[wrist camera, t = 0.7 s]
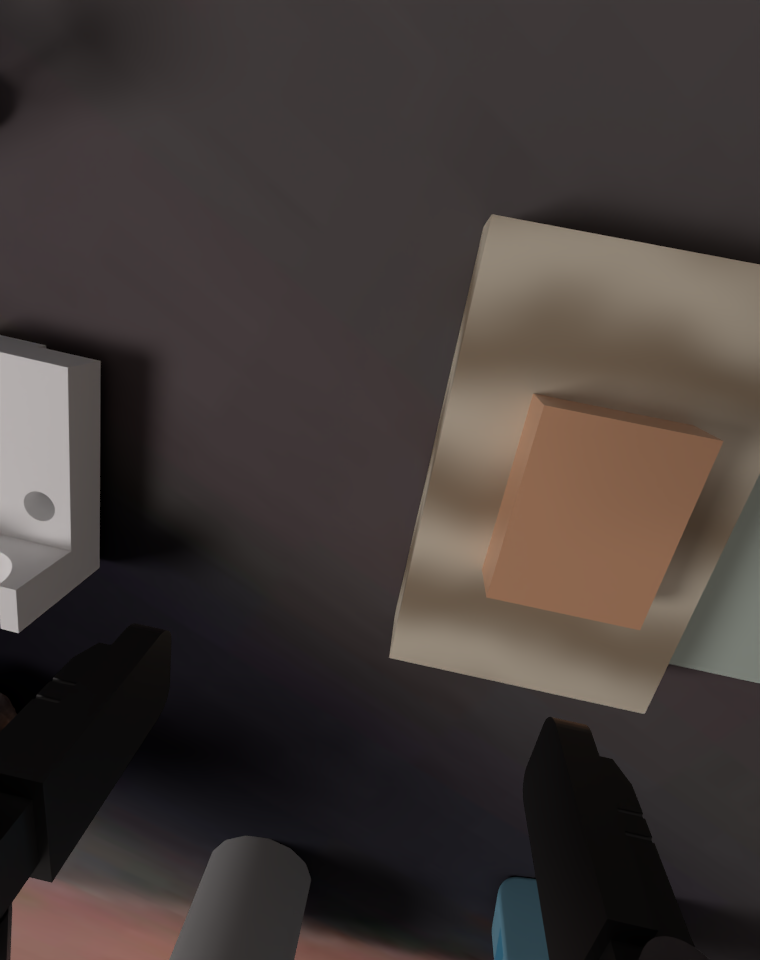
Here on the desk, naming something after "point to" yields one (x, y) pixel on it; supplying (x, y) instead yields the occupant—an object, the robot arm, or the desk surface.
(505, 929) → the data package
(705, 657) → the mat
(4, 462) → the bracket
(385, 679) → the desk surface
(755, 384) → the light wood flat block
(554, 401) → the tile
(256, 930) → the cup
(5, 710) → the clay figurine
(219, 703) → the desk surface
